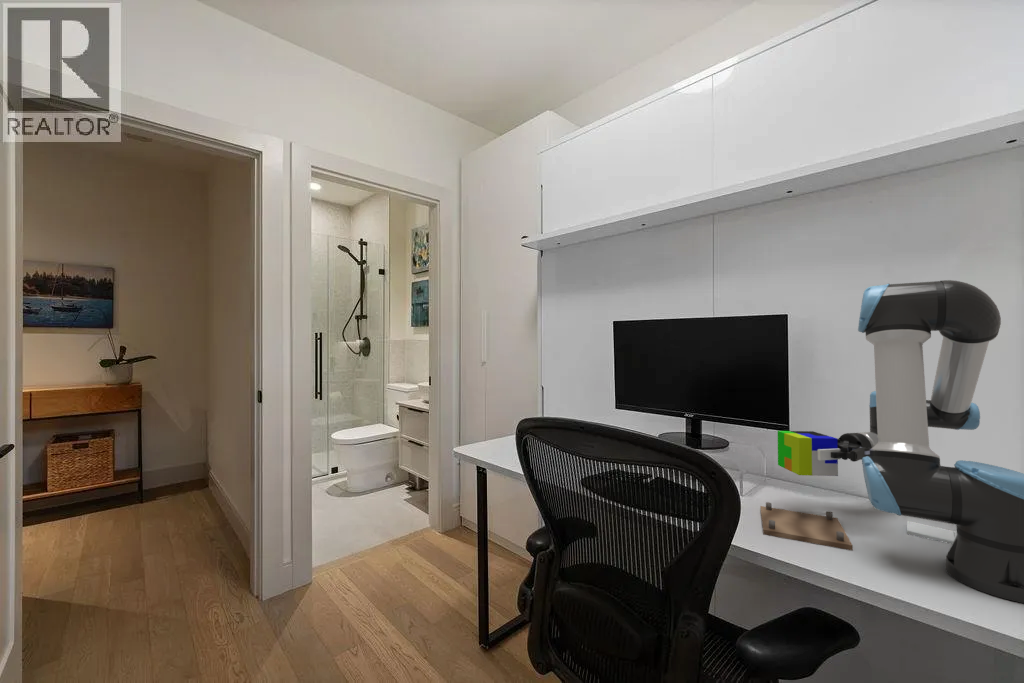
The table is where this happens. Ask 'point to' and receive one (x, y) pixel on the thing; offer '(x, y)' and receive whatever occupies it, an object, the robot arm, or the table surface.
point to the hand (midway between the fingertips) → (797, 449)
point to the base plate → (804, 527)
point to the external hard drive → (931, 532)
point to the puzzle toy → (806, 453)
